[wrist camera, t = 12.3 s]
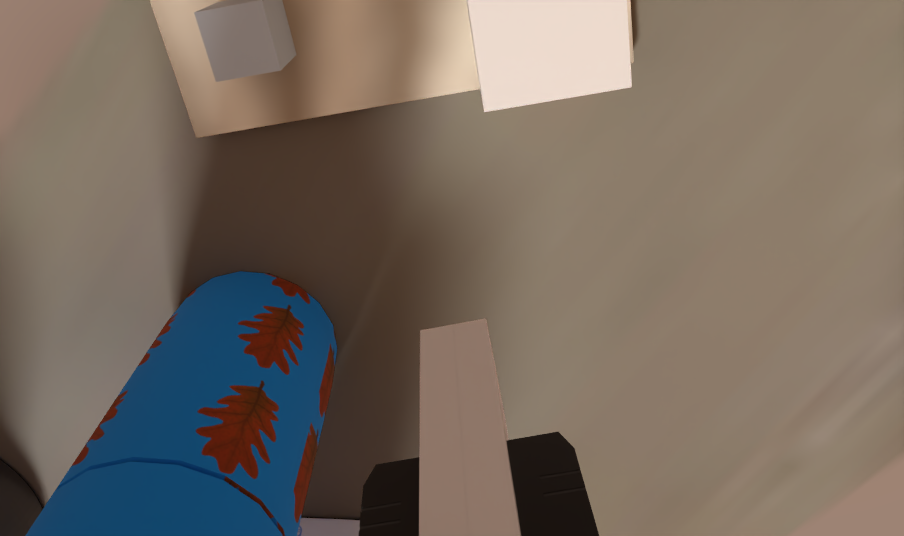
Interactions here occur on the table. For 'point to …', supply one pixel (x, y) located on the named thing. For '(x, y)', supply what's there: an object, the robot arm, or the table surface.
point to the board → (328, 61)
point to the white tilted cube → (548, 49)
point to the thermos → (209, 422)
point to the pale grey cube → (245, 37)
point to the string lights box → (328, 527)
